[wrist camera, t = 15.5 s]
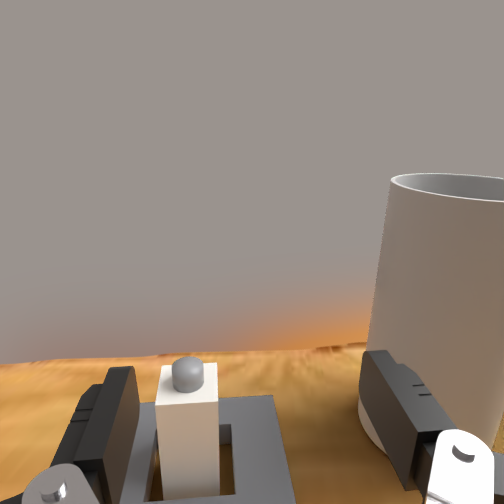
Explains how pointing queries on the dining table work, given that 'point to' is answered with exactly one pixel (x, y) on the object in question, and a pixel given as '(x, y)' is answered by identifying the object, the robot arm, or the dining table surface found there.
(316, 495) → the dining table surface
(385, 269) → the cylinder vase
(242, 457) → the socket plate
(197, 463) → the white block with knob
